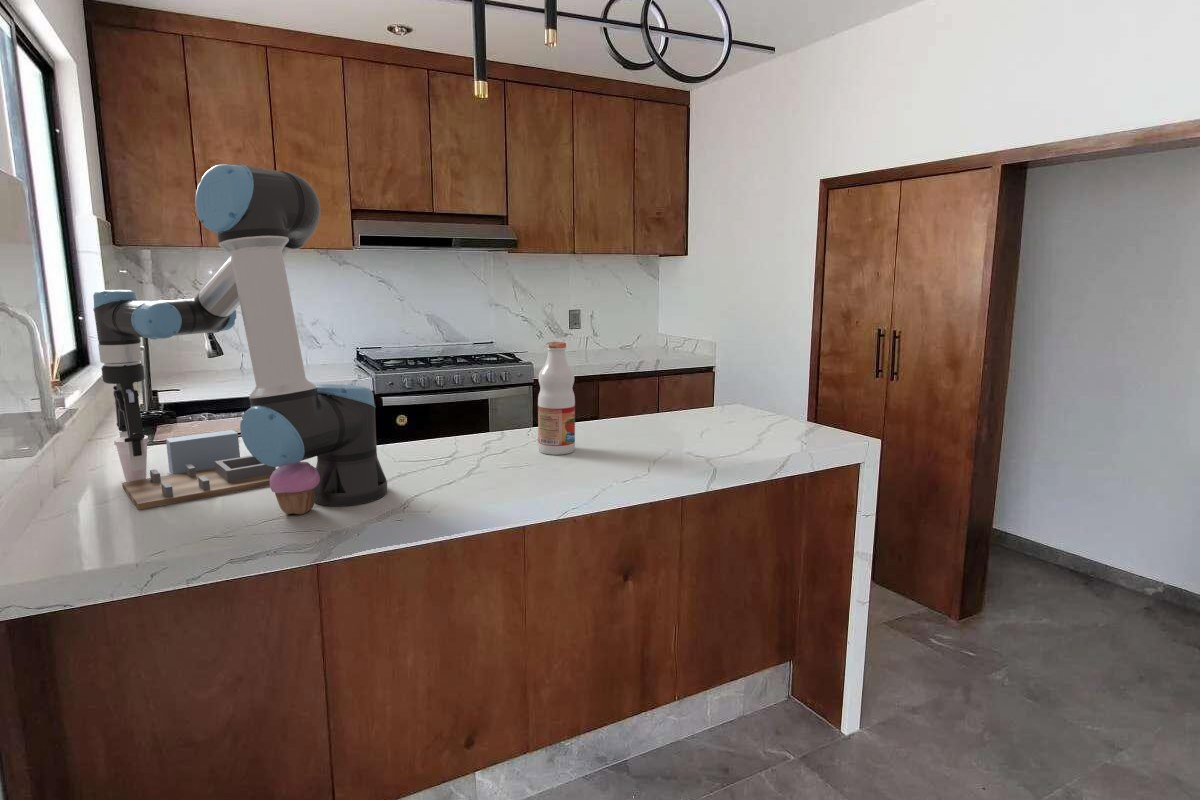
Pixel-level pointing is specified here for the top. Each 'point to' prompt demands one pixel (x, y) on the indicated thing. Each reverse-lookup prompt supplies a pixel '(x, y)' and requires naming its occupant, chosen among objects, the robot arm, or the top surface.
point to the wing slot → (190, 472)
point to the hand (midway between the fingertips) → (134, 464)
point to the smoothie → (125, 461)
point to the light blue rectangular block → (201, 450)
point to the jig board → (186, 488)
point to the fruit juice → (556, 403)
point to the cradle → (242, 468)
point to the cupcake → (295, 487)
